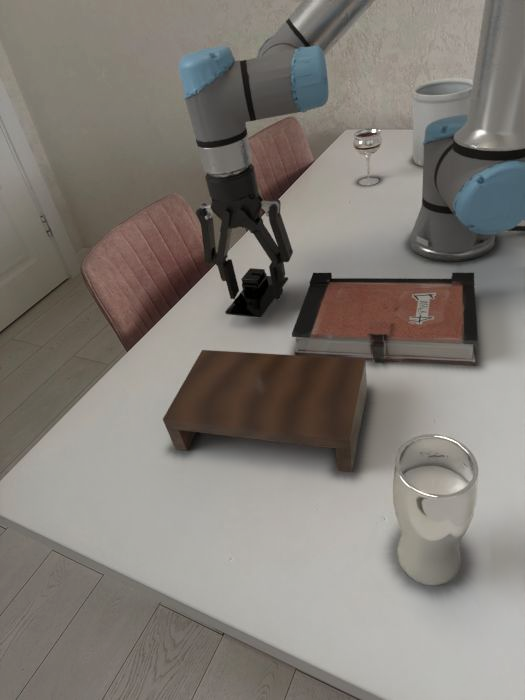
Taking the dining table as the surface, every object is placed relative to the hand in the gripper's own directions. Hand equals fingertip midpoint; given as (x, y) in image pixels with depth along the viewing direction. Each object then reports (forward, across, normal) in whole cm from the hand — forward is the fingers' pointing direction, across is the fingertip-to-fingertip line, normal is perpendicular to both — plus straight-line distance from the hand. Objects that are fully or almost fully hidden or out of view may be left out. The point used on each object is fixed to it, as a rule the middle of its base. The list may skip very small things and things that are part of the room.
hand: (256, 294), depth 89 cm
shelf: (+3, -10, +26) cm, 28 cm away
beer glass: (+3, -31, +42) cm, 52 cm away
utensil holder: (+4, -30, -70) cm, 76 cm away
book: (+3, -23, +4) cm, 23 cm away
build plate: (0, 0, 0) cm, 1 cm away
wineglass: (+4, -13, -57) cm, 58 cm away
